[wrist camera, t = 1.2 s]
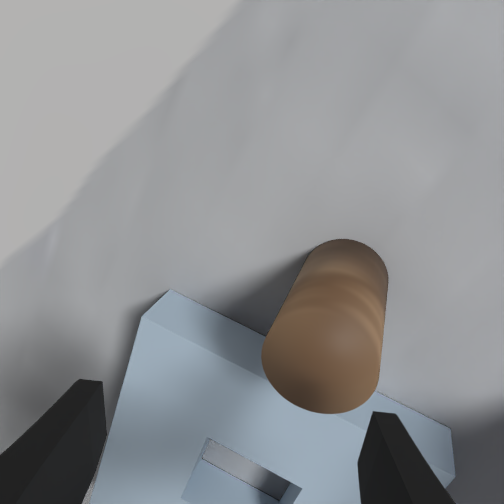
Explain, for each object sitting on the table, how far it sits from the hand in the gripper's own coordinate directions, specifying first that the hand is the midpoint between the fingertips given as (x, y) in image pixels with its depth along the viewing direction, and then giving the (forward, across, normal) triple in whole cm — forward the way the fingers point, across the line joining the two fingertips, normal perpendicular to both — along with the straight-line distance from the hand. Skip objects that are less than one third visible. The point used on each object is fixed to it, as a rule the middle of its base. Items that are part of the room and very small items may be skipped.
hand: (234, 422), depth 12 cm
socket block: (+10, -1, +14) cm, 17 cm away
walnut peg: (+10, -4, +1) cm, 11 cm away
